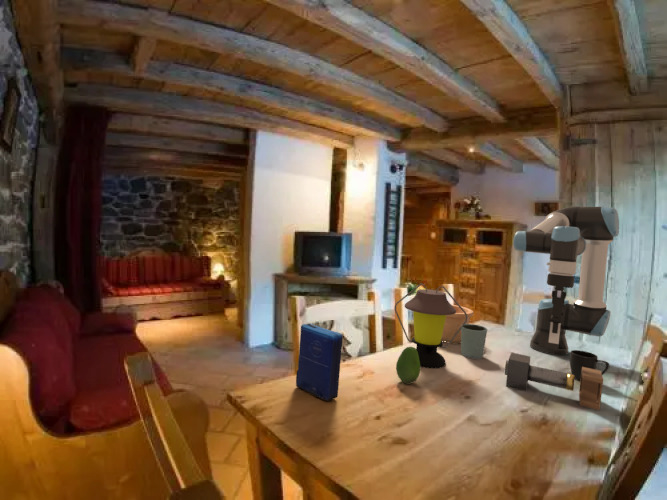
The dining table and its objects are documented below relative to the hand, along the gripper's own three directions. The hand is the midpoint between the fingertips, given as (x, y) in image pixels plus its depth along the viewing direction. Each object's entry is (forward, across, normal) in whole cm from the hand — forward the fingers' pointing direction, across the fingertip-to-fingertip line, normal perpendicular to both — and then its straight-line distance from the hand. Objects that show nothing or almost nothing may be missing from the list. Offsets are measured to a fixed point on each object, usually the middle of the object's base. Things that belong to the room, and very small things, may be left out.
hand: (553, 338), depth 125 cm
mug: (+18, -21, +12) cm, 30 cm away
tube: (+15, 0, -3) cm, 16 cm away
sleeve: (+18, 0, -9) cm, 20 cm away
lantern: (+18, -1, -41) cm, 45 cm away
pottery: (+18, -39, -43) cm, 61 cm away
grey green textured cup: (+18, -21, -28) cm, 39 cm away
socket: (+18, 0, +11) cm, 21 cm away
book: (+19, +49, -59) cm, 79 cm away
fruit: (+19, +23, -40) cm, 50 cm away
